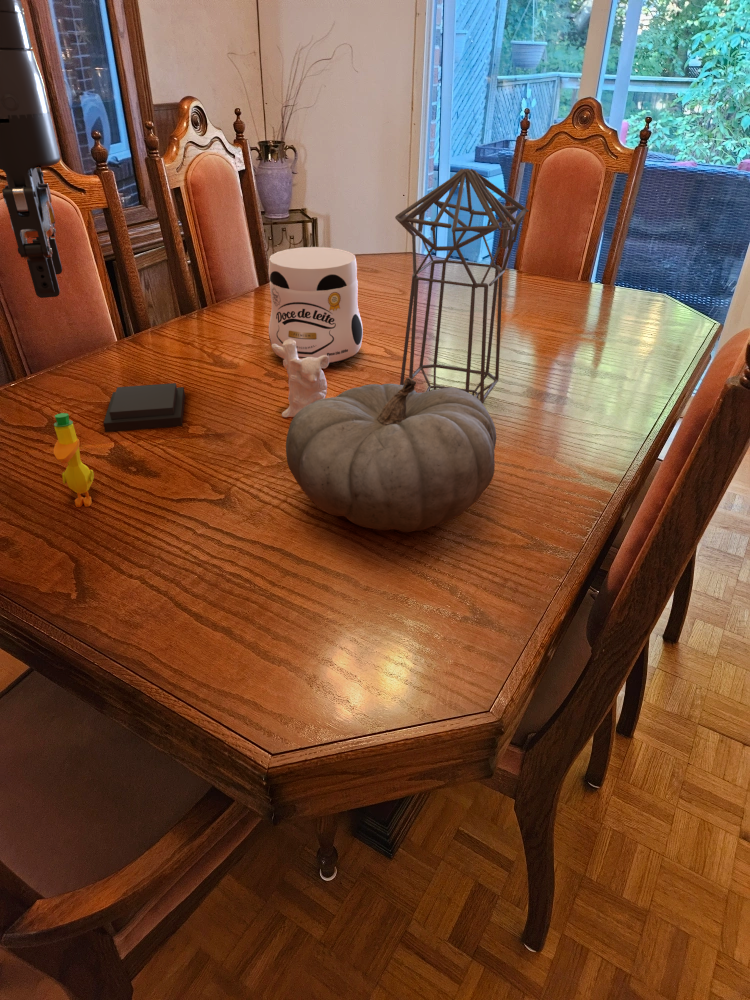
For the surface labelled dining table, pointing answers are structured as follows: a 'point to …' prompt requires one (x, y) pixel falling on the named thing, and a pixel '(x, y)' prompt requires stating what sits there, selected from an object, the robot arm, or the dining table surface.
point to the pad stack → (145, 407)
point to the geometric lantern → (484, 197)
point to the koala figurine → (302, 377)
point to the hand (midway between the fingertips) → (50, 284)
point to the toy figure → (72, 459)
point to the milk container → (315, 302)
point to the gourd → (393, 454)
